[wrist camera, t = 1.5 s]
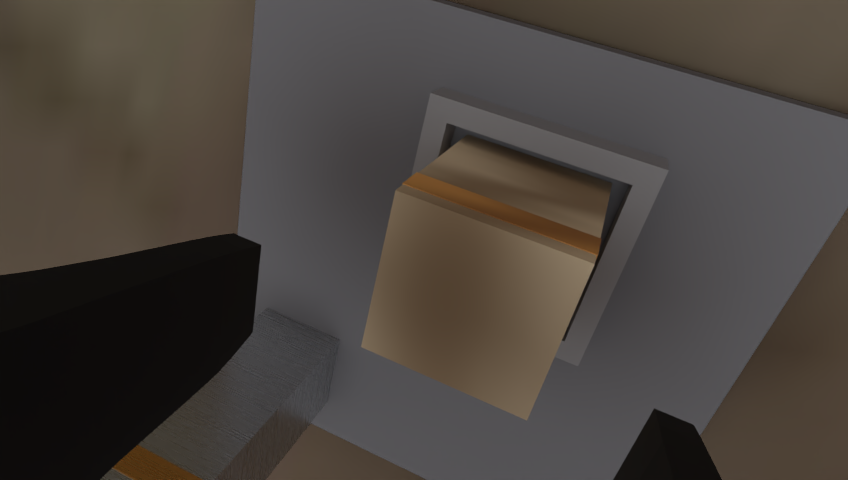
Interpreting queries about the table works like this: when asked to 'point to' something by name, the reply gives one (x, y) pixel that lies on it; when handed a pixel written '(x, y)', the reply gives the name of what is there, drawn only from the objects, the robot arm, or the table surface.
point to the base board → (554, 142)
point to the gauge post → (242, 409)
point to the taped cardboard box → (485, 270)
